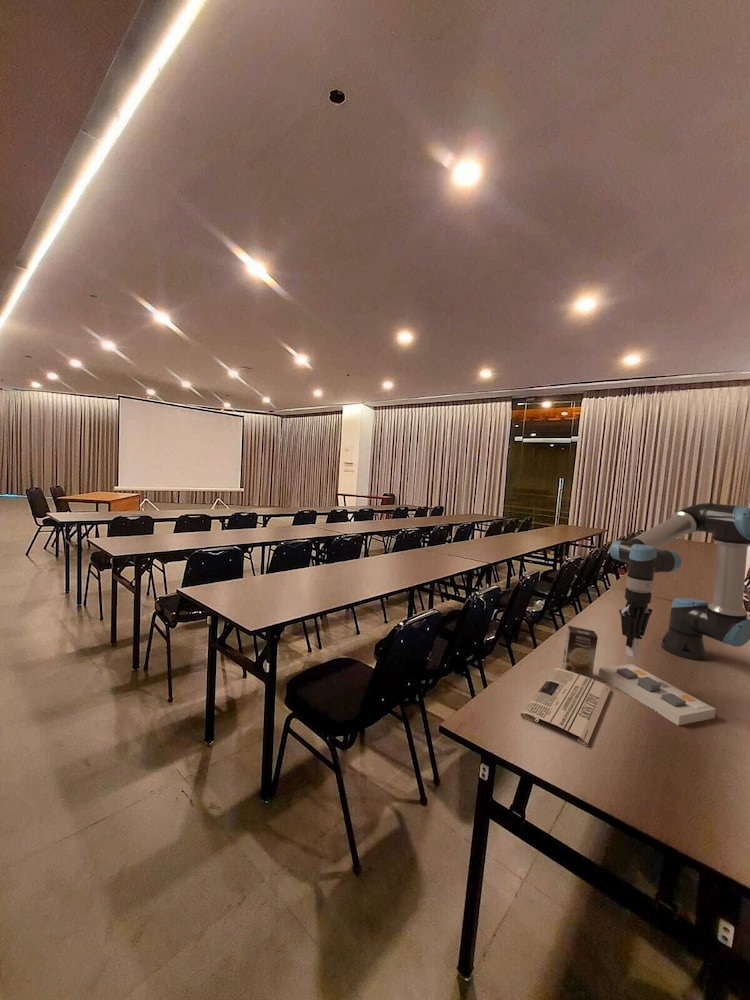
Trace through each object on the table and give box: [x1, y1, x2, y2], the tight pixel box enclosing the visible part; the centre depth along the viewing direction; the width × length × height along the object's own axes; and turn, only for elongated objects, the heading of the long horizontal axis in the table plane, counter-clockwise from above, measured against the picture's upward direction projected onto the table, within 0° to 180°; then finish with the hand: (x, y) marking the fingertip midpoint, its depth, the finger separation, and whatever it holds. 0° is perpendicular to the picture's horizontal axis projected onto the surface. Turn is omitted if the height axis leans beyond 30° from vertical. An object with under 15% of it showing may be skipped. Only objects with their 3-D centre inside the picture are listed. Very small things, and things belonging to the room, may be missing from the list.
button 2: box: [661, 693, 686, 707], centre depth 126 cm, size 4×4×3 cm
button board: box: [598, 663, 717, 726], centre depth 134 cm, size 16×28×3 cm, turn 19°
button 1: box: [617, 668, 638, 679], centre depth 141 cm, size 4×4×3 cm
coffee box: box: [561, 625, 599, 679], centre depth 145 cm, size 9×6×16 cm
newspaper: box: [520, 667, 611, 747], centre depth 125 cm, size 37×19×3 cm, turn 141°
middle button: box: [638, 677, 661, 693], centre depth 133 cm, size 4×4×3 cm
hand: (630, 655), depth 141 cm, fingers closed
